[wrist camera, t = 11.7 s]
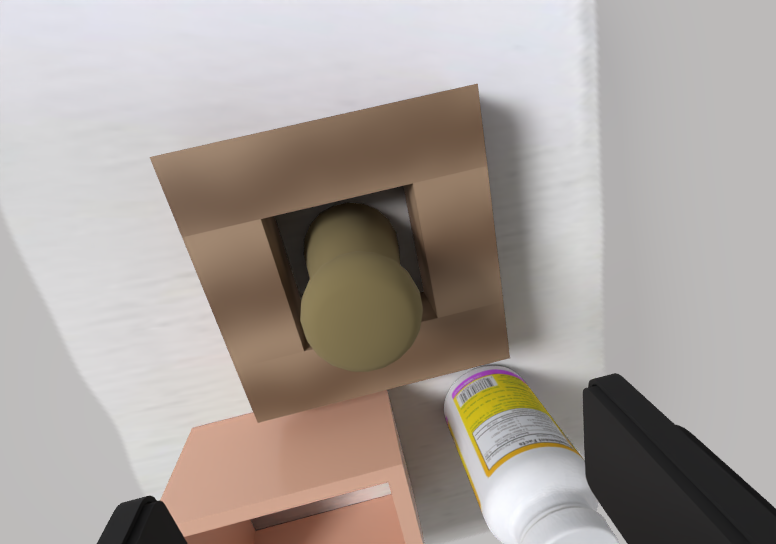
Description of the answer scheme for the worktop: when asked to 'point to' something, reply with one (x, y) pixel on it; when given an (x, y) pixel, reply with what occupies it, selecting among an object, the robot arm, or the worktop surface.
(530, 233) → the worktop surface
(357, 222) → the cork
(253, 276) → the socket block
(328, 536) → the collar
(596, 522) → the supplement bottle
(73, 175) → the worktop surface
